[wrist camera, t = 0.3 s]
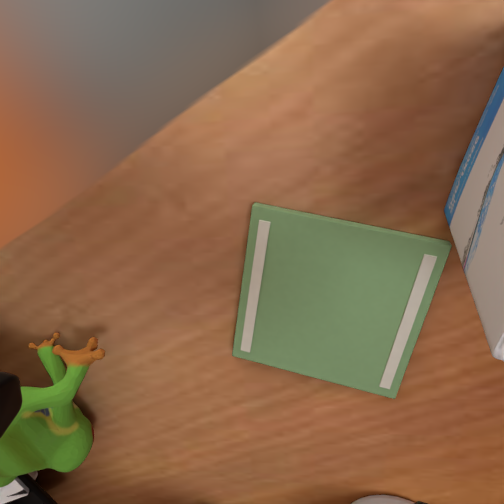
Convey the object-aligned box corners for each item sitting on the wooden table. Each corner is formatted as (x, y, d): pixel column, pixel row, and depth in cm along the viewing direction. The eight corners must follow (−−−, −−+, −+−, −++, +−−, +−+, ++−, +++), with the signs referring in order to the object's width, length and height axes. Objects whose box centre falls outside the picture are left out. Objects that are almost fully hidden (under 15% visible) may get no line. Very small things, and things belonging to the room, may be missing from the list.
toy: (-69, 351, 31) (-40, 477, 32) (-179, 395, 22) (-136, 570, 23) (123, 312, 33) (148, 434, 33) (92, 340, 24) (126, 505, 24)
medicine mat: (394, 392, 25) (395, 400, 24) (234, 350, 26) (231, 357, 26) (449, 241, 20) (452, 246, 20) (254, 201, 22) (251, 205, 21)
